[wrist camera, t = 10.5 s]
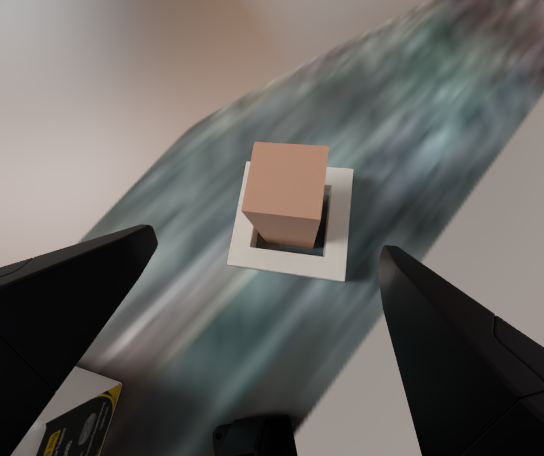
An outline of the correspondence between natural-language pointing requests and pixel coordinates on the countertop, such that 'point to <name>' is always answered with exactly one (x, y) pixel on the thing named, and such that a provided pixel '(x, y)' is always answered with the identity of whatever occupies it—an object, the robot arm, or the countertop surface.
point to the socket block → (293, 263)
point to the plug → (286, 192)
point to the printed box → (74, 418)
